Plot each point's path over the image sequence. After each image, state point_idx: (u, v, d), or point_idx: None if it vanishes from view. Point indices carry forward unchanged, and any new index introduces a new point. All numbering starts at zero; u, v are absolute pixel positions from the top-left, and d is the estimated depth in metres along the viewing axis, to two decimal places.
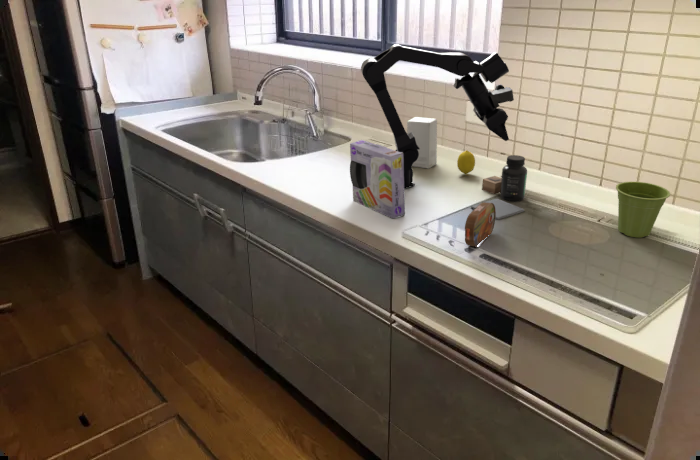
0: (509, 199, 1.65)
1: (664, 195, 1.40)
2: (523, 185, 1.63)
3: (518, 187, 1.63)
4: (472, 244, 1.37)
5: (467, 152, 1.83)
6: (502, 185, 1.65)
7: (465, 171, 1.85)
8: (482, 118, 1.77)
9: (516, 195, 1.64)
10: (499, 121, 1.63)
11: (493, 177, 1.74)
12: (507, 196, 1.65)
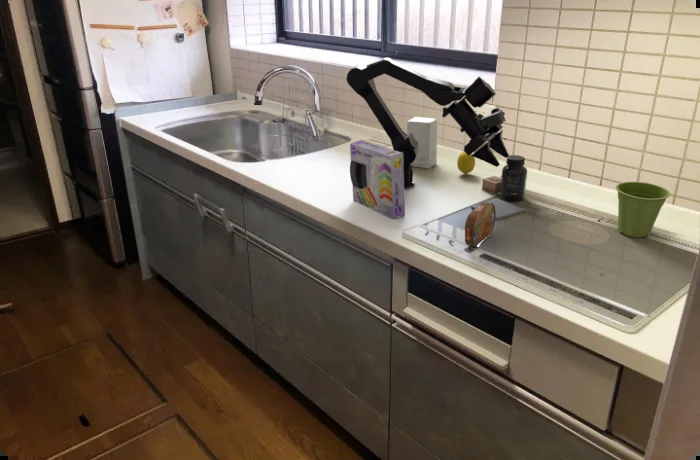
0: (509, 199, 1.65)
1: (664, 195, 1.40)
2: (523, 185, 1.63)
3: (518, 187, 1.63)
4: (472, 244, 1.37)
5: None
6: (502, 185, 1.65)
7: (465, 171, 1.85)
8: None
9: (516, 195, 1.64)
10: (475, 147, 1.58)
11: (493, 177, 1.74)
12: (507, 196, 1.65)
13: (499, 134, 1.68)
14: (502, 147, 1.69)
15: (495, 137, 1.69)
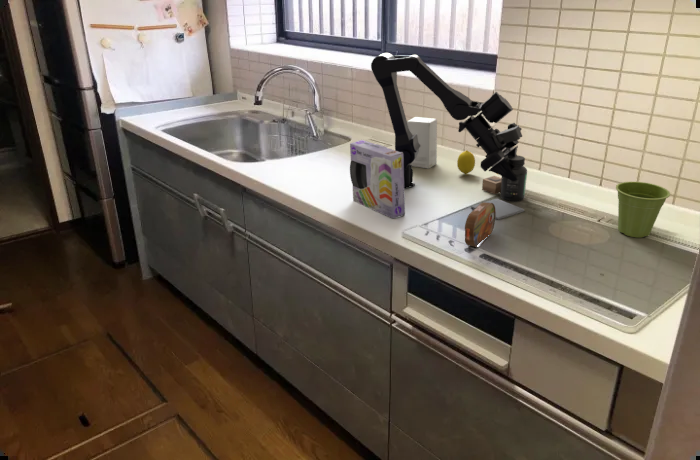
0: (509, 199, 1.65)
1: (664, 195, 1.40)
2: (523, 185, 1.63)
3: (518, 187, 1.63)
4: (472, 244, 1.37)
5: (467, 152, 1.83)
6: (502, 185, 1.65)
7: (465, 171, 1.85)
8: None
9: (516, 195, 1.64)
10: (492, 163, 1.57)
11: (493, 177, 1.74)
12: (507, 196, 1.65)
13: (514, 150, 1.67)
14: None
15: (510, 153, 1.67)
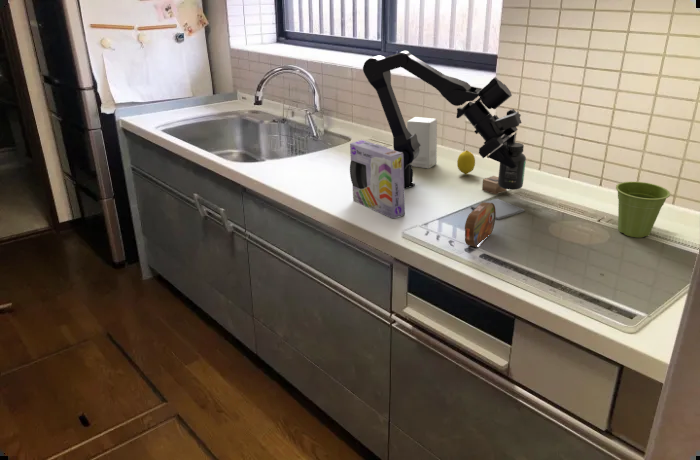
0: (507, 187, 1.62)
1: (664, 195, 1.40)
2: (522, 173, 1.61)
3: (516, 174, 1.60)
4: (472, 244, 1.37)
5: (467, 152, 1.83)
6: (500, 173, 1.62)
7: (465, 171, 1.85)
8: None
9: (515, 183, 1.61)
10: (491, 150, 1.54)
11: (493, 177, 1.74)
12: (505, 184, 1.62)
13: (513, 137, 1.64)
14: None
15: (508, 140, 1.65)
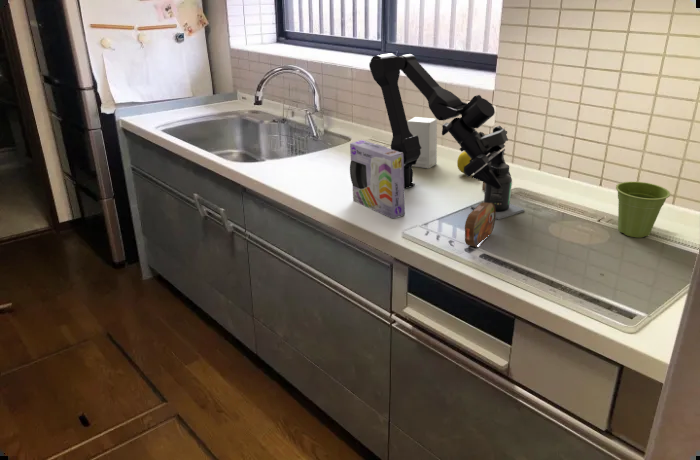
0: None
1: (664, 195, 1.40)
2: (507, 194, 1.55)
3: (502, 196, 1.55)
4: (472, 244, 1.37)
5: None
6: (486, 194, 1.57)
7: None
8: (488, 163, 1.61)
9: (501, 205, 1.56)
10: (476, 169, 1.49)
11: None
12: None
13: (501, 153, 1.59)
14: None
15: (497, 156, 1.60)
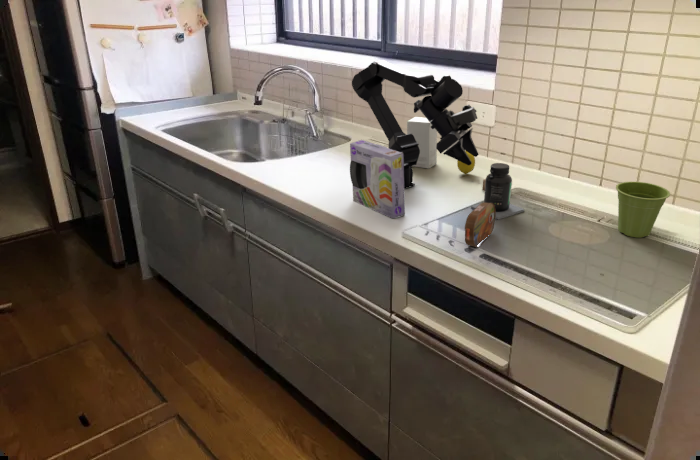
0: None
1: (664, 195, 1.40)
2: (507, 194, 1.55)
3: (502, 196, 1.55)
4: (472, 244, 1.37)
5: (467, 152, 1.83)
6: (486, 194, 1.57)
7: (465, 171, 1.85)
8: None
9: (501, 205, 1.56)
10: (449, 145, 1.52)
11: None
12: None
13: (469, 132, 1.63)
14: (472, 146, 1.64)
15: (465, 135, 1.64)
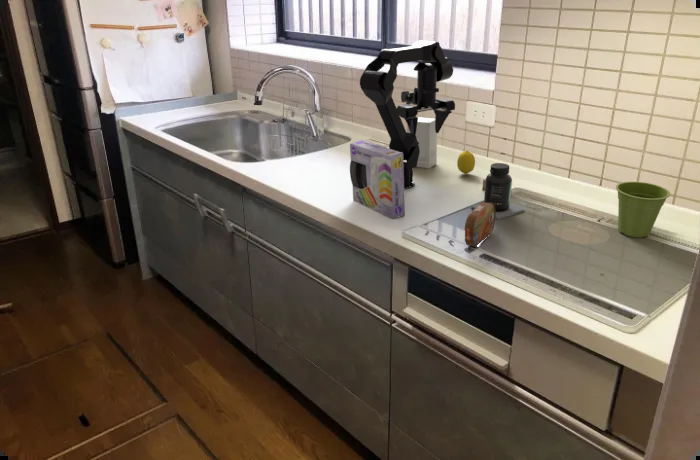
0: None
1: (664, 195, 1.40)
2: (507, 194, 1.55)
3: (502, 196, 1.55)
4: (472, 244, 1.37)
5: (467, 152, 1.83)
6: (486, 194, 1.57)
7: (465, 171, 1.85)
8: None
9: (501, 205, 1.56)
10: None
11: None
12: None
13: None
14: None
15: None
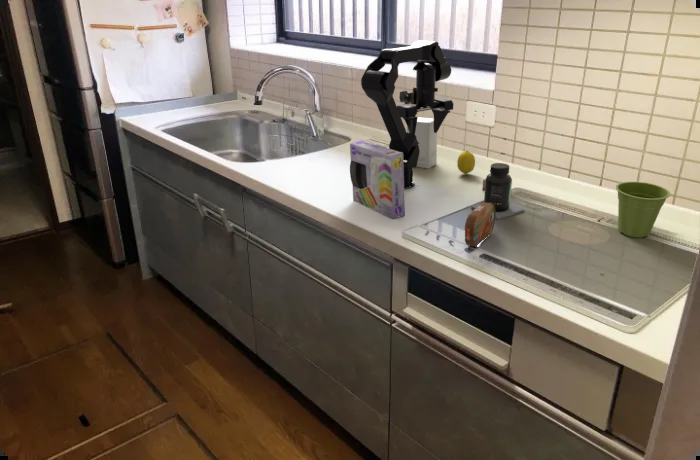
0: None
1: (664, 195, 1.40)
2: (507, 194, 1.55)
3: (502, 196, 1.55)
4: (472, 244, 1.37)
5: (467, 152, 1.83)
6: (486, 194, 1.57)
7: (465, 171, 1.85)
8: None
9: (501, 205, 1.56)
10: None
11: None
12: None
13: None
14: None
15: None
